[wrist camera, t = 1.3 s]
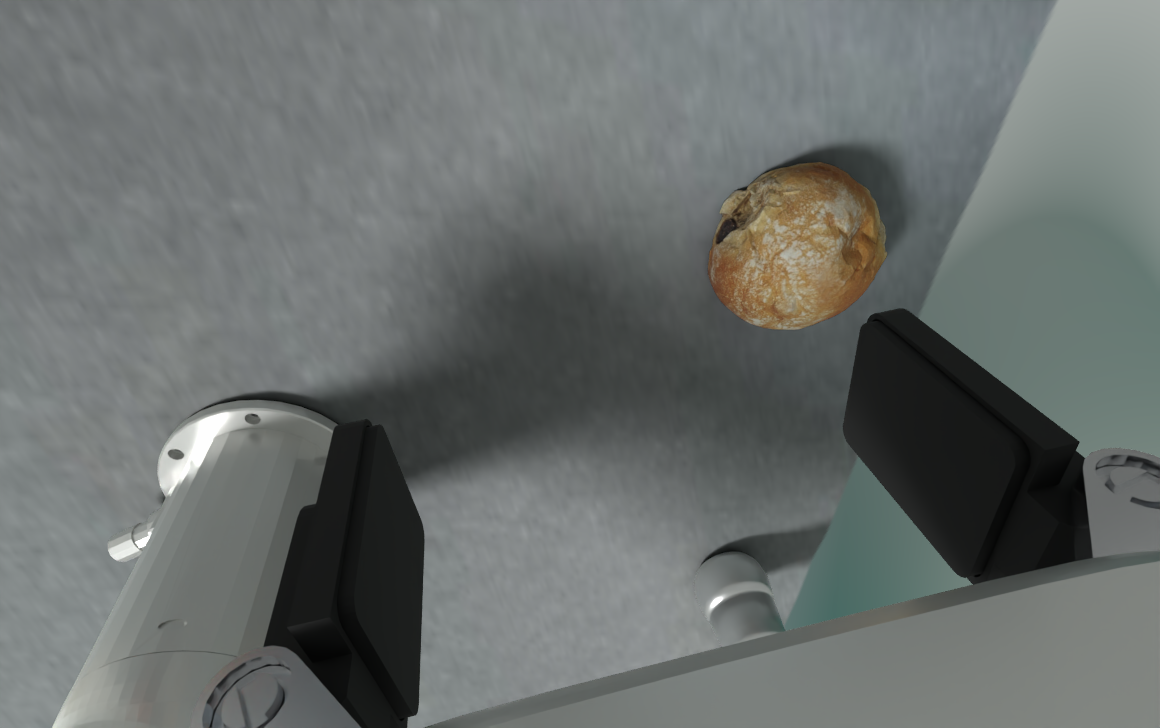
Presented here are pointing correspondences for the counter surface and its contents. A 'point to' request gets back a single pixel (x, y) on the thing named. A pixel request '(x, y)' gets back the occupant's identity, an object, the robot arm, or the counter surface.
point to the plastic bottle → (736, 598)
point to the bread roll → (796, 246)
